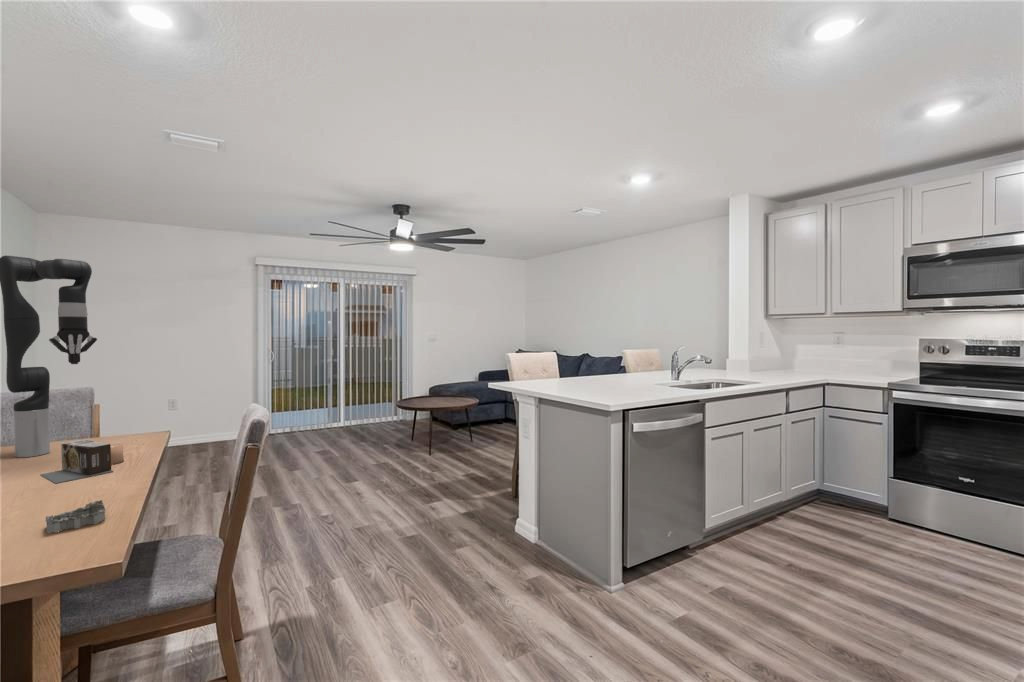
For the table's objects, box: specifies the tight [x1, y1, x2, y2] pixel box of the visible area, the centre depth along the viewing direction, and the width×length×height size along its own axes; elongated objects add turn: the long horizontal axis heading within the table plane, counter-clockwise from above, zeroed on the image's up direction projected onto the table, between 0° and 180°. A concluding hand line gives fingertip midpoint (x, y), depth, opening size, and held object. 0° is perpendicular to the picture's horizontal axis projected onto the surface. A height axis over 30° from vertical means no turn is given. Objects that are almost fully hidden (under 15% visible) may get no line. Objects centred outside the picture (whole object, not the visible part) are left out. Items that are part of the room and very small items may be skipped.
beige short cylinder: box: [110, 443, 125, 466], centre depth 164 cm, size 6×6×6 cm
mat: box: [40, 469, 114, 485], centre depth 152 cm, size 16×14×1 cm
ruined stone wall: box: [45, 499, 106, 533], centre depth 112 cm, size 11×8×4 cm
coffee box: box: [60, 439, 112, 475], centre depth 154 cm, size 9×6×16 cm
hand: (74, 364), depth 166 cm, fingers closed
